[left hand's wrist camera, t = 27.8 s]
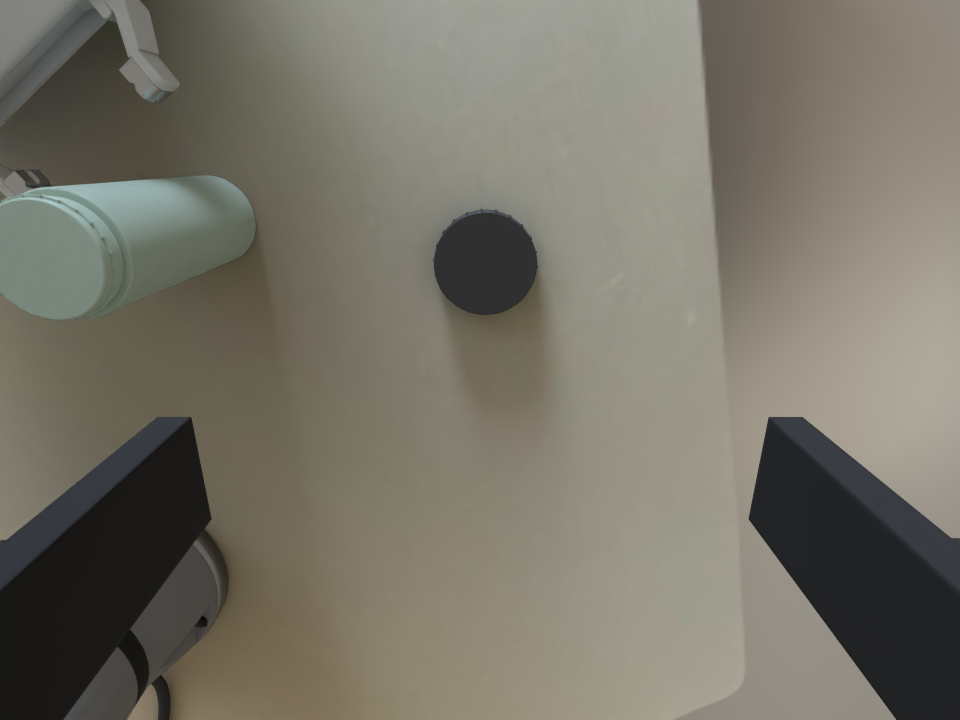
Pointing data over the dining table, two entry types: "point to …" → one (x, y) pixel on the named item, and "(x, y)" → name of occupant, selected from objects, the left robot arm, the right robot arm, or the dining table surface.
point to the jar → (116, 241)
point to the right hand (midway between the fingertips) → (102, 152)
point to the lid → (485, 262)
